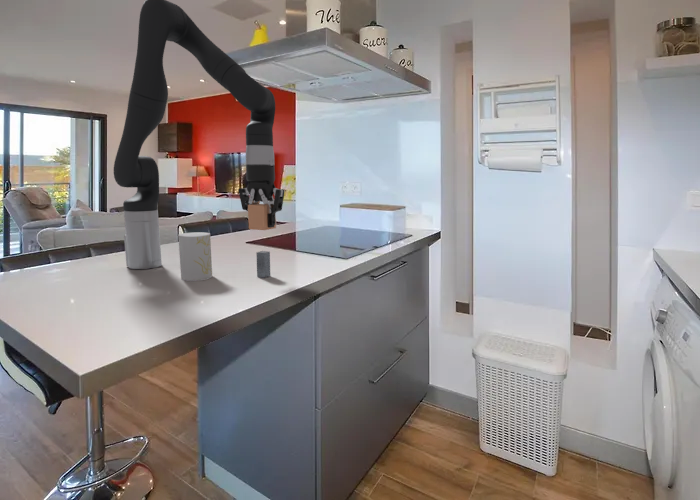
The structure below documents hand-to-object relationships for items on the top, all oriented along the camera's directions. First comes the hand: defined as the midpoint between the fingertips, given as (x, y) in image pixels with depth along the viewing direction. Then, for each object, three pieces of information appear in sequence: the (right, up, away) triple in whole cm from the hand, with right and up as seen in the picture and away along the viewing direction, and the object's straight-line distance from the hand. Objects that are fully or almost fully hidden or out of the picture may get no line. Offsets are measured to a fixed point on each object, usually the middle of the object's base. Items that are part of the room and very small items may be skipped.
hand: (262, 226), depth 116 cm
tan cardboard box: (0, -1, 0) cm, 1 cm away
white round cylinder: (-18, -14, +1) cm, 23 cm away
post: (0, -14, +3) cm, 14 cm away
